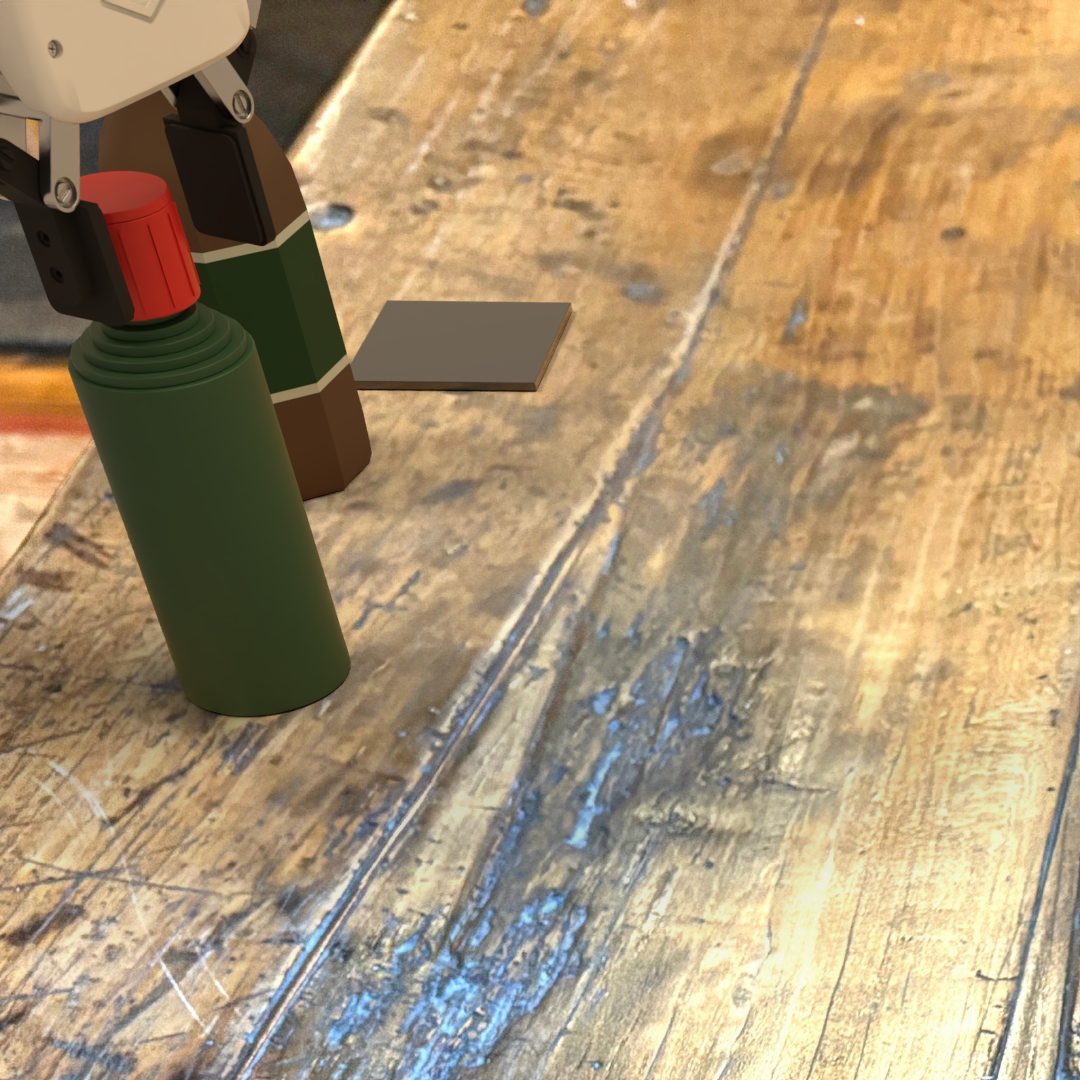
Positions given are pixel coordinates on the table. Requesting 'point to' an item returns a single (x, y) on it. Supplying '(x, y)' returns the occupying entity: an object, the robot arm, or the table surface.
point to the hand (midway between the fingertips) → (167, 272)
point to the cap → (146, 240)
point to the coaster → (460, 345)
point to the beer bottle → (266, 297)
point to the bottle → (212, 509)
